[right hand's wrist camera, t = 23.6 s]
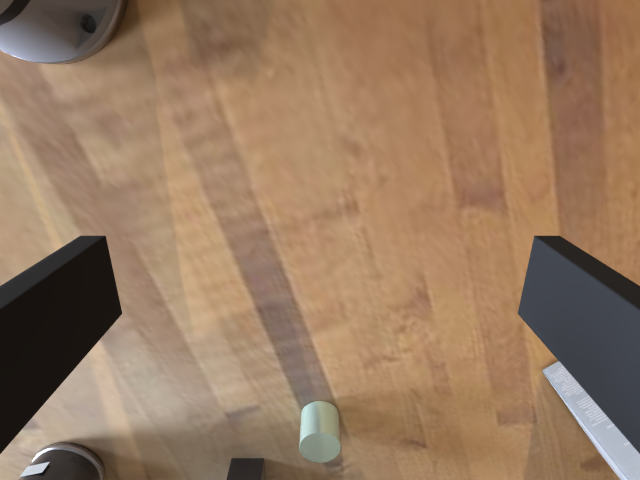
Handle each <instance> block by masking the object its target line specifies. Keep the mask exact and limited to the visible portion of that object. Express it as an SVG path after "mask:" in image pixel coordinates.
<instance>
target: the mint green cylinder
mask: <svg viewBox="0 0 640 480" xmlns="http://www.w3.org/2000/svg"><path fill="white" fill-rule="evenodd" d="M299 450H300V452H301V454H302V456H303V457H304V458H306V459H307V460H309V461H312V462H316V463H324V462H328V461H331V460H333V459H334V458H336V457H337V456H338V454H339V452H340V450H341V443H340V425H339V413H338V410H337V408H336V407H335V406H334V405H332V404H331V403H329V402H325V401H315V402H311V403H309V404H308V405H306V406H305V407H304V408H303V410H302V413H301V425H300V443H299Z"/></svg>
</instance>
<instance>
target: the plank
mask: <svg viewBox="0 0 640 480" xmlns="http://www.w3.org/2000/svg"><path fill="white" fill-rule="evenodd" d="M227 480H265V468H264V459H232V460H231V464H230V468H229V472H228V476H227Z"/></svg>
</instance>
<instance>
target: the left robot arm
mask: <svg viewBox="0 0 640 480" xmlns="http://www.w3.org/2000/svg"><path fill="white" fill-rule="evenodd" d="M103 478H104V467H103V464H102V462H101V461H100V459H99V458H98V457H97V456H96V455H95V454H93V453H92V452H91V451H89V450H87V449H86V448H83V447H81V446H78V445H75V444H70V443H55V444H51V445H48V446H46V447H44V448H43V449H41V450H40V451H39V453H38V454H37V455H36V456H35V458H34V459H33V461H32V463H31V464H30V466H27V468H26V469H25V470H24V472H23V473H22V474H21V476H20V478H19V480H103Z"/></svg>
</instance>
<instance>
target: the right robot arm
mask: <svg viewBox="0 0 640 480" xmlns="http://www.w3.org/2000/svg"><path fill="white" fill-rule="evenodd" d="M126 4H127V0H0V50H1V51H3V52H5V53H8V54H10V55H12V56H15V57H18V58H20V59H24V60H27V61H31V62H38V63H48V64H68V63H74V62H78V61H81V60H84V59H86V58H89V57H90V56H92V55H94V54H96V53H97V52H98V51H100V50H101V49H102V48H103V47H104V46H105V45H106V44H107V43H108V42H109V41H110V40H111V39H112V37H113V36H114V34H115V33H116V31H117V30H118V28H119V26H120V23H121V21H122V18H123V16H124V12H125V8H126ZM121 314H122V310H121V306H120V301H119V296H118V292H117V287H116V282H115V278H114V273H113V268H112V264H111V259H110V254H109V250H108V245H107V240H106V236H80V237H78V238H76V239H75V240H73V241H72V242H70V243H68V244H67V245H65V246H64V247H62V248H60V249H59V250H57V251H56V252H54V253H52V254H51V255H49V256H48V257H46V258H44V259H43V260H41V261H40V262H38V263H36V264H35V265H33V266H32V267H30V268H29V269H27V270H25V271H24V272H22V273H21V274H19V275H17V276H16V277H14V278H13V279H11V280H9V281H8V282H6V283H5V284H3V285H1V286H0V454H1V453H2V451H3V450H4V449H5V448H6V447H7V446H8V444H9V443H10V442H11V441H12V440H13V439H14V438H15V436H16V435H17V434H18V433H19V432H20V431H21V430H22V428H23V427H24V426H25V425H26V424H27V423H28V421H29V420H30V419H31V418H32V417H33V416H34V415H35V413H36V412H37V411H38V410H39V409H40V408H41V406H42V405H43V404H44V403H45V402H46V401H47V400H48V398H49V397H50V396H51V395H52V394H53V393H54V391H55V390H56V389H57V388H58V387H59V386H60V385H61V383H62V382H63V381H64V380H65V379H66V378H67V377H68V375H69V374H70V373H71V372H72V371H73V370H74V368H75V367H76V366H77V365H78V364H79V363H80V362H81V360H82V359H83V358H84V357H85V356H86V355H87V353H88V352H89V351H90V350H91V349H92V348H93V347H94V345H95V344H96V343H97V342H98V341H99V340H100V339H101V337H102V336H103V335H104V334H105V333H106V332H107V330H108V329H109V328H110V327H111V326H112V325H113V324H114V322H115V321H116V320H117V319H118V318H119V317H120V315H121ZM518 314H519V315H520V317H521V318H522V319H523V320H524V321H525V322H526V324H527V325H528V326H529V327H530V328H531V329H532V330H533V332H534V333H535V334H536V335H537V336H538V337H539V339H540V340H541V341H542V342H543V343H544V344H545V345H546V347H547V348H548V349H549V350H550V351H551V352H552V353H553V355H554V356H555V357H556V358H557V359H558V360H559V362H560V363H561V364H562V365H563V366H564V367H565V368H566V370H567V371H568V372H569V373H570V374H571V375H572V377H573V378H574V379H575V380H576V381H577V382H578V383H579V385H580V386H581V387H582V388H583V389H584V390H585V392H586V393H587V394H588V395H589V396H590V397H591V398H592V400H593V401H594V402H595V403H596V404H597V405H598V406H599V408H600V409H601V410H602V411H603V412H604V413H605V415H606V416H607V417H608V418H609V419H610V420H611V421H612V423H613V424H614V425H615V426H616V427H617V428H618V430H619V431H620V432H621V433H622V434H623V435H624V436H625V438H626V439H627V440H628V441H629V442H630V443H631V444H632V446H633V447H634V448H635V449H636V450H637V451H638V453H639V454H640V286H639V285H637V284H635V283H634V282H632V281H631V280H629V279H627V278H626V277H624V276H623V275H621V274H619V273H618V272H616V271H615V270H613V269H611V268H610V267H608V266H607V265H605V264H604V263H602V262H600V261H599V260H597V259H596V258H594V257H592V256H591V255H589V254H588V253H586V252H584V251H583V250H581V249H580V248H578V247H576V246H575V245H573V244H572V243H570V242H568V241H567V240H565V239H564V238H562V237H560V236H534V240H533V245H532V250H531V254H530V259H529V264H528V268H527V273H526V278H525V282H524V287H523V292H522V296H521V301H520V306H519V310H518Z"/></svg>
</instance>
